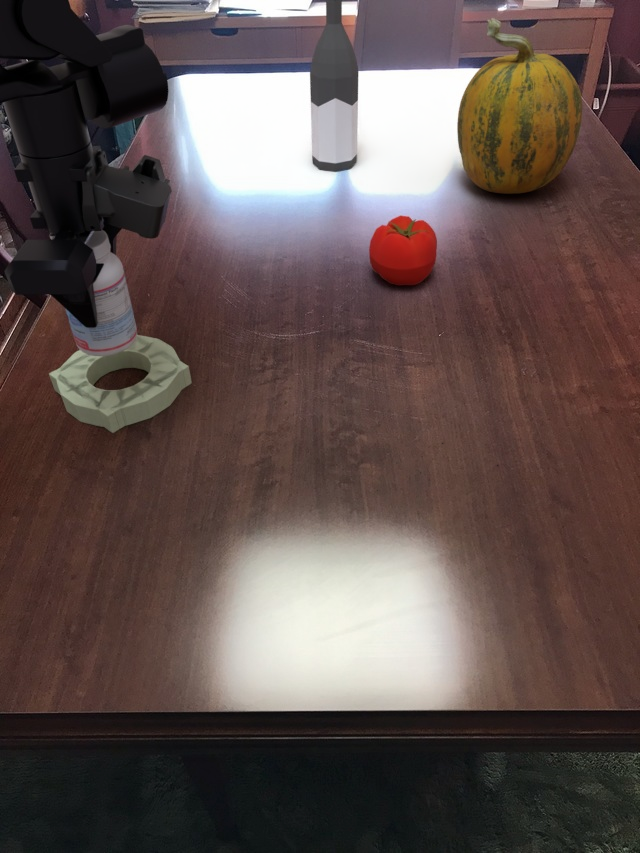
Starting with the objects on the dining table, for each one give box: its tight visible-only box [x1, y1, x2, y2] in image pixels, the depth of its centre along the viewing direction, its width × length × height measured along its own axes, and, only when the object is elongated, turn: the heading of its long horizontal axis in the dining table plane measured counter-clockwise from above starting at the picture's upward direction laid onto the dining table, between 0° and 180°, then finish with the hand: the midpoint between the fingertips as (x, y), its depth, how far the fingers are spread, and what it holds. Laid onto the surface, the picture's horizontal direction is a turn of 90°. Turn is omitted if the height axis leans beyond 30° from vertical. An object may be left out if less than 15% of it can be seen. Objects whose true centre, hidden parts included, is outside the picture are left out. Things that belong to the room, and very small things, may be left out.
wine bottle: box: [309, 0, 359, 173], centre depth 114 cm, size 8×8×30 cm
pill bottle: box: [64, 230, 138, 356], centre depth 65 cm, size 6×6×11 cm
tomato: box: [368, 215, 438, 286], centre depth 93 cm, size 9×9×8 cm
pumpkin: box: [456, 17, 583, 195], centre depth 108 cm, size 19×19×25 cm
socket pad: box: [48, 334, 193, 434], centre depth 78 cm, size 13×13×2 cm
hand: (100, 307), depth 67 cm, fingers closed on pill bottle, 6 cm apart
